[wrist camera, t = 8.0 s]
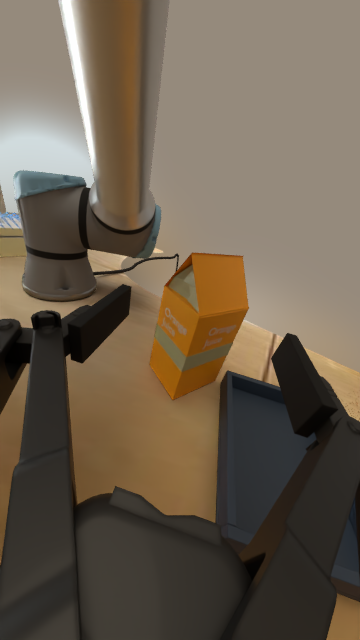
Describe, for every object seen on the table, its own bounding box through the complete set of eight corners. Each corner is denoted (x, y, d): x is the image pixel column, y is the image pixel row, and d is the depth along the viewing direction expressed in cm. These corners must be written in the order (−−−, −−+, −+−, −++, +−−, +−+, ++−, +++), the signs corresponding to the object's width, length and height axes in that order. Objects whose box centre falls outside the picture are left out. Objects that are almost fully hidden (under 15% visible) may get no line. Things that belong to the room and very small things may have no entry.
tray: (220, 383, 33) (227, 370, 31) (306, 411, 32) (318, 399, 30) (214, 546, 17) (227, 537, 15) (386, 612, 16) (421, 610, 14)
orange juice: (215, 381, 33) (269, 267, 22) (172, 401, 28) (216, 266, 17) (189, 351, 38) (222, 246, 27) (148, 363, 33) (171, 241, 22)
